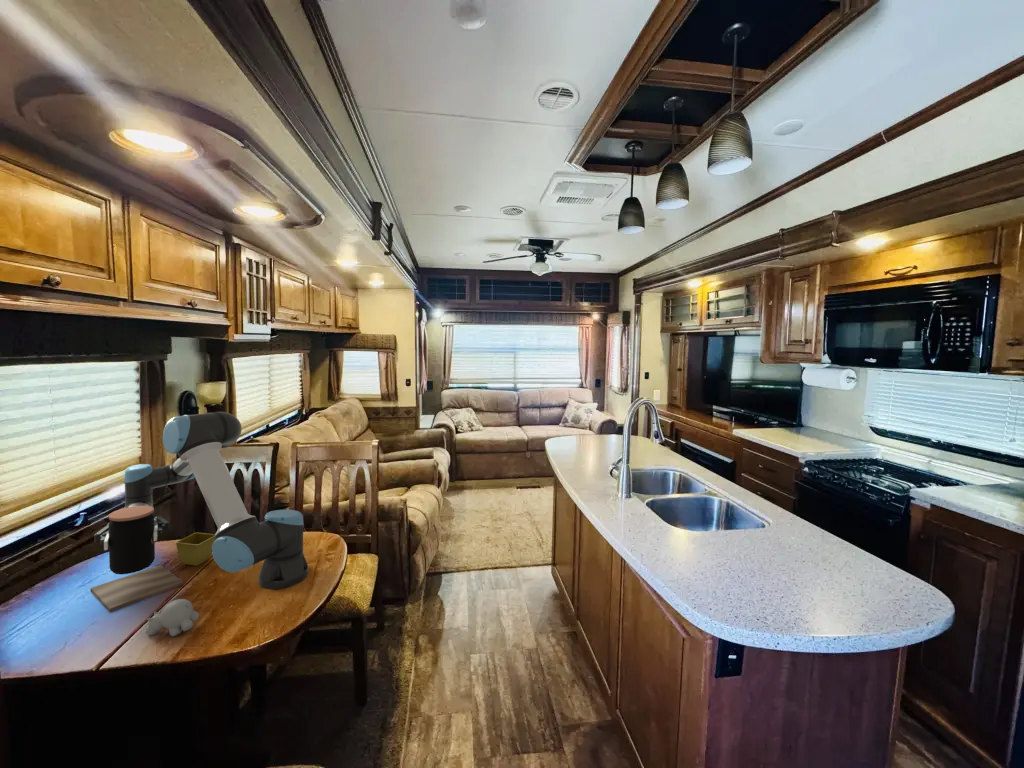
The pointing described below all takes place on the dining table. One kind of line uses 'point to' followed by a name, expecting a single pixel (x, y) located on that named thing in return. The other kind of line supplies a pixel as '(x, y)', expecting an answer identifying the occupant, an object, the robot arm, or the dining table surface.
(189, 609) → the chubby cartoon animal
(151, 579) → the walnut board
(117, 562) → the coffee jar
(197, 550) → the flower pot
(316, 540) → the dining table surface
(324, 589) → the dining table surface
